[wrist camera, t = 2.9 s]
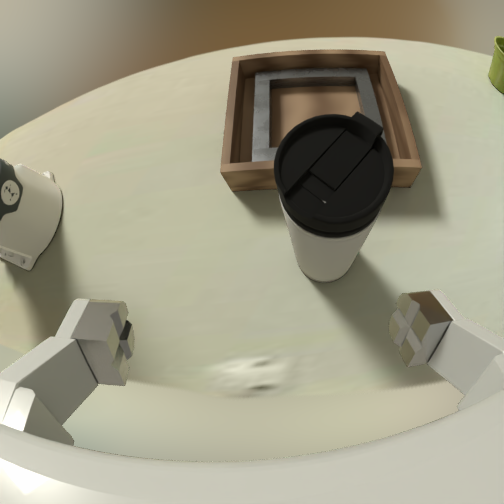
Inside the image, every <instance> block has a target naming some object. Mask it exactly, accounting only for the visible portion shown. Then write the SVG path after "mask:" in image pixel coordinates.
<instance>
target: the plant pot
mask: <svg viewBox="0 0 504 504" xmlns="http://www.w3.org/2000/svg"><path fill="white" fill-rule="evenodd" d="M494 42H495V46H494V47H495V51H494V55H493V60H492V64H491V67H490V71H489V75H488V76H489V78H490V80H491V83H492V84H493V85H494V86H495V87H496V88H497V89H498V90H499V91H500V92H502V93H504V37H501V36H496V37H495V38H494Z"/></svg>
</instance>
